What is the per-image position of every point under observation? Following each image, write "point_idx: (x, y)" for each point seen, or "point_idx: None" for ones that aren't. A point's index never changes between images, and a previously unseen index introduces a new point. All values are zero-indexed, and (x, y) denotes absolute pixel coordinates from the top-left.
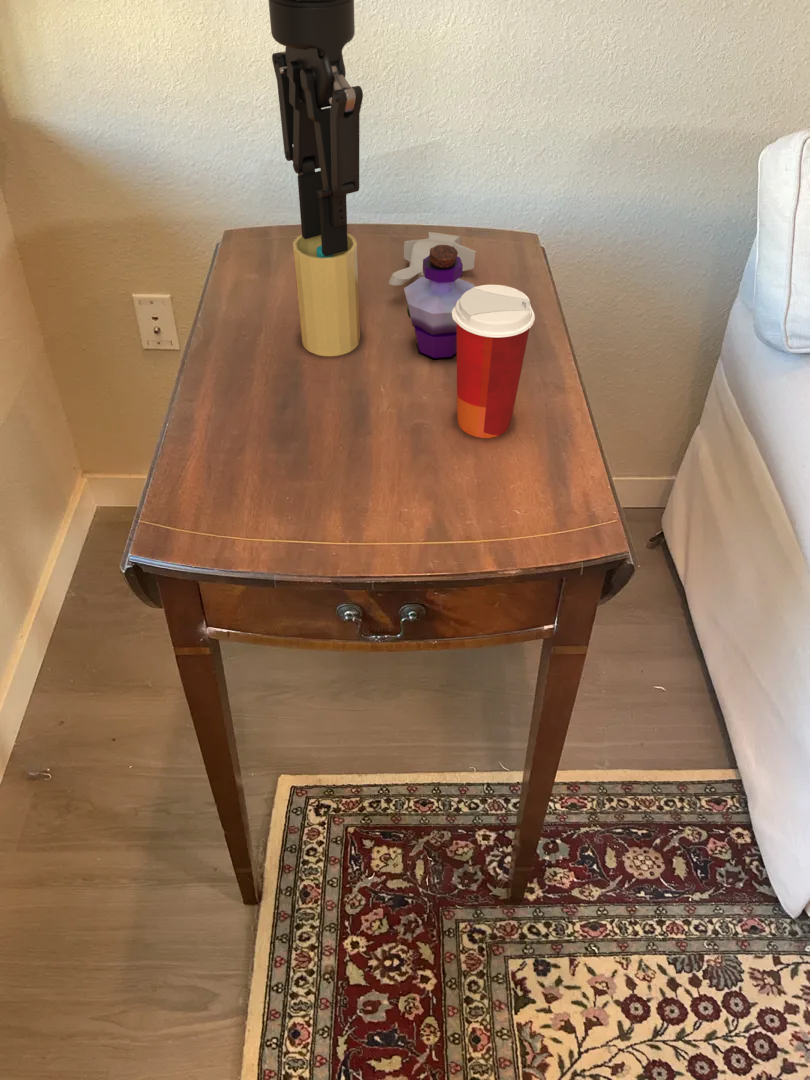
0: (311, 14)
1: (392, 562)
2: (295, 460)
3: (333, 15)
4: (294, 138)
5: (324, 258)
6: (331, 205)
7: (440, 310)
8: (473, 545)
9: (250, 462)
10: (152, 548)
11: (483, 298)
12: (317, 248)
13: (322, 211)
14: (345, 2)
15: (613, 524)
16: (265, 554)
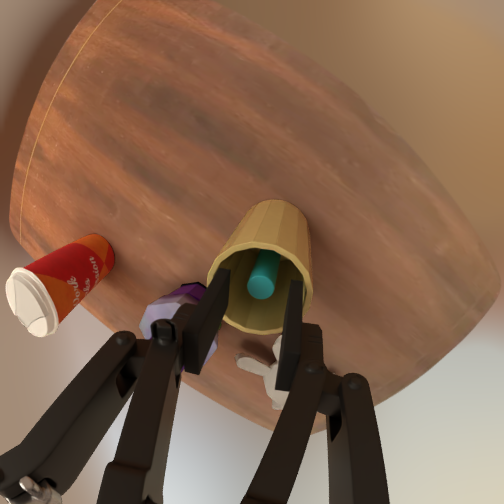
0: None
1: (35, 115)
2: (130, 93)
3: None
4: (306, 424)
5: (216, 263)
6: (178, 327)
7: (147, 314)
8: (26, 166)
9: (151, 58)
10: None
11: (30, 307)
12: (268, 280)
13: (197, 310)
14: None
15: (19, 242)
16: (75, 43)
